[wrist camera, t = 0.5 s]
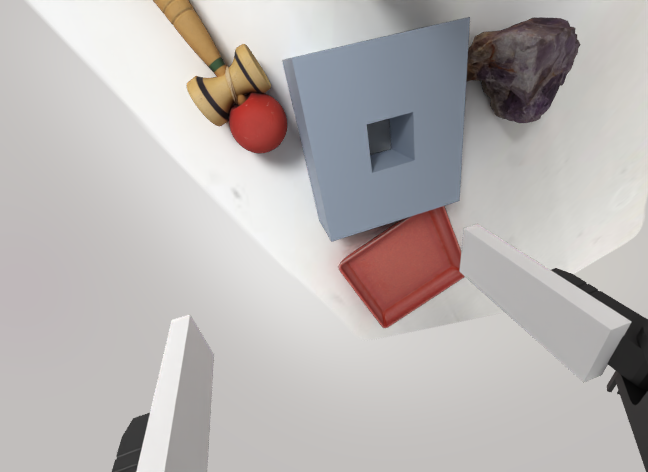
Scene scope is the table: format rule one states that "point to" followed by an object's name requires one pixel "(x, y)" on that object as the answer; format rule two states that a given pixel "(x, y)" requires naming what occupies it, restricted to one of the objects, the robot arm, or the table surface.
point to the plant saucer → (405, 265)
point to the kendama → (230, 85)
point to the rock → (523, 66)
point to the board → (376, 105)
